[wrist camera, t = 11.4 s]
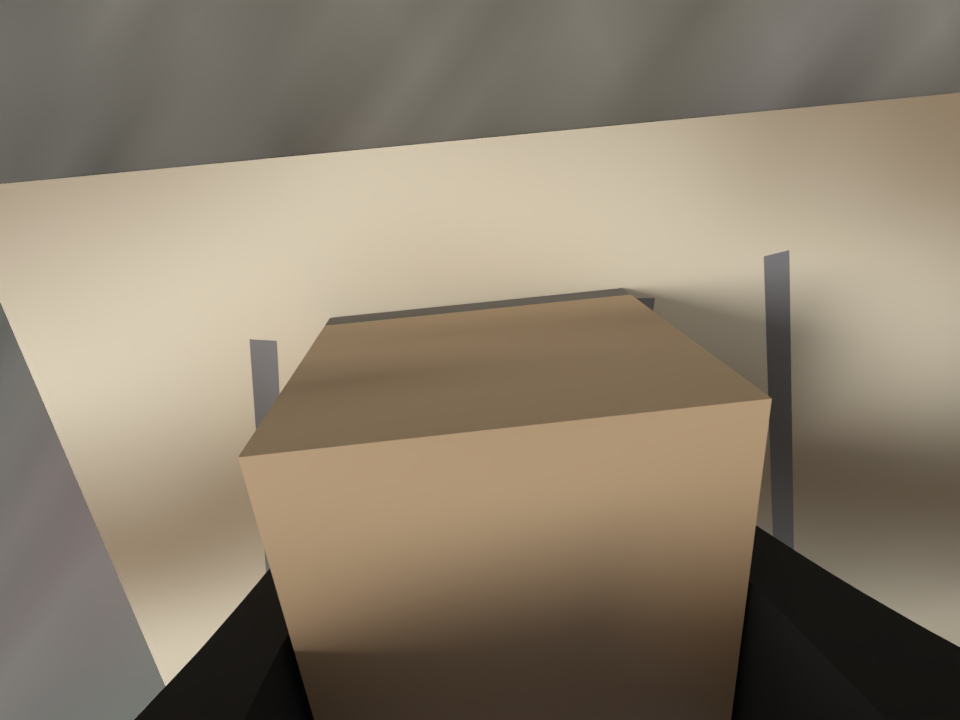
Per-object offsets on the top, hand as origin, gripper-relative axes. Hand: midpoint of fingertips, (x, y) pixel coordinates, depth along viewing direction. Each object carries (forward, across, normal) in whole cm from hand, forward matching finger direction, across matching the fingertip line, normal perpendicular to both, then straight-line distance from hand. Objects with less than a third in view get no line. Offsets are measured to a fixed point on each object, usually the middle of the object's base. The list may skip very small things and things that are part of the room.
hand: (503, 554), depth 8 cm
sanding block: (+1, 0, 0) cm, 1 cm away
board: (+3, -2, 0) cm, 3 cm away
